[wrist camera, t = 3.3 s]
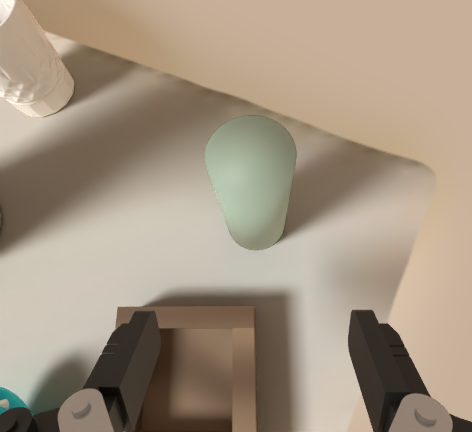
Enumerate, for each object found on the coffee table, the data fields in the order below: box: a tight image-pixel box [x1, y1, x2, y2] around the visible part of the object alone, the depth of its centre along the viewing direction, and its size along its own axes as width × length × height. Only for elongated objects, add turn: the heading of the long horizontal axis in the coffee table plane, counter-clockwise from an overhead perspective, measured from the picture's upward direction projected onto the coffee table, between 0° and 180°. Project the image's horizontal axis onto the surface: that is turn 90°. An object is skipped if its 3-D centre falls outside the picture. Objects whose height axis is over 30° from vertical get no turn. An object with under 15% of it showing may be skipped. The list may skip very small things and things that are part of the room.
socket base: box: [115, 306, 258, 432], centre depth 24 cm, size 10×10×4 cm
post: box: [205, 115, 296, 250], centre depth 24 cm, size 5×5×12 cm
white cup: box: [0, 0, 75, 117], centre depth 32 cm, size 8×8×10 cm
